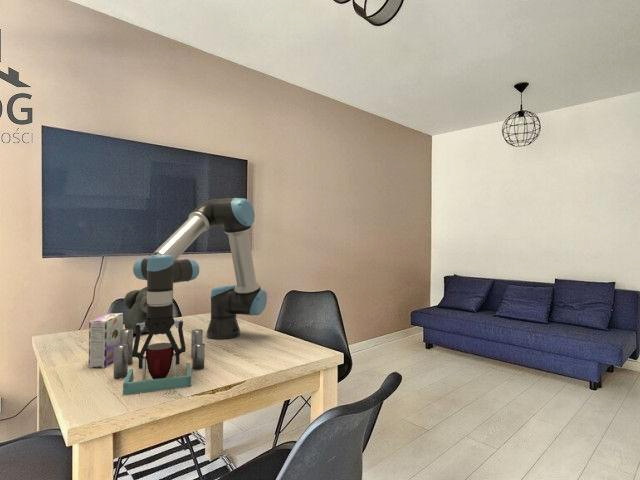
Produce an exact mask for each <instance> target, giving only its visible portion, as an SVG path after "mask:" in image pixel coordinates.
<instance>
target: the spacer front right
mask: <svg viewBox="0 0 640 480" xmlns="http://www.w3.org/2000/svg"><path fill="white" fill-rule="evenodd" d="M128 367H129V365H128V344H118V345H115V346H114V362H113V379H115V380H116V379H117V380H119V379H125V378H126V376H127V373H128V371H129V369H128Z"/></svg>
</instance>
